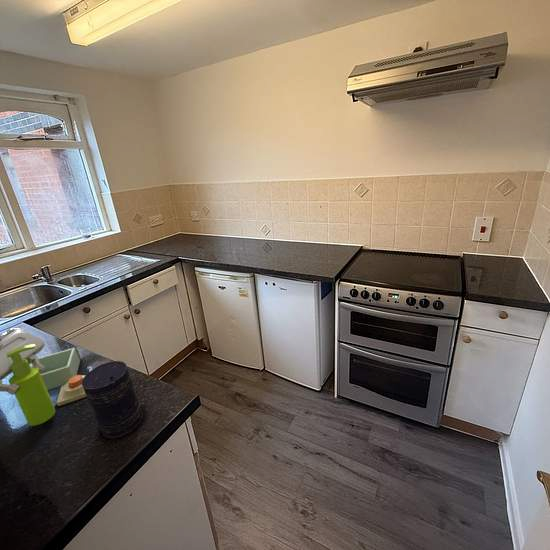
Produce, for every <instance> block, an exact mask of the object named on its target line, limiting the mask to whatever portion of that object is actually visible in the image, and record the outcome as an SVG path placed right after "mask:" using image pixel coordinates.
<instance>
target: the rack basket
mask: <svg viewBox="0 0 550 550" xmlns="http://www.w3.org/2000/svg"><path fill="white" fill-rule="evenodd" d="M37 358H38V360H39V363H40V364H41V365H43V366H44V367H45V368H44V370H43V371H42V372H40V374H41V376H42V379H43V381H44V384H45V386H46V388H47V391H50V390H53V389H56V388H59V387H62V386H63V385H65V384H66V383H67V382H68V380H69V379H70V378H72V377H74V376H76V375H78V370H79V367H80V363H81V359H80V357H79V354H78V351H77V350H76V347H72V348H69V349H65V350H62V351H58V352H54V353H52V354H48V355H44V356H40V357H37ZM29 365H30V367H31V368H34V367H33V365H32V363H31V364H29Z"/></svg>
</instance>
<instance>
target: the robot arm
mask: <svg viewBox="0 0 550 550" xmlns="http://www.w3.org/2000/svg"><path fill="white" fill-rule="evenodd" d="M31 344H34V345H35V348H34V349H30V350H26V351H23V352H21V353H20V355H21V358H22V359H27V360H28V362H29V365H31V363H32V365H33V367H34V368H38V369H39V372H42V371H43V370H44V368H45V367H44V366H43V365H41V364H40V363H39V360H38V358H39V357H38V356H37V355H38V354H39V353H40V352H42V350H43V349H44V347H45V345H46V343H45V340H44V339H42V338H41V337H40V336H38V335H35V334H34V333H31V332H29V331H26V330H25V329H23V328H21V327H19V328H18V327H17V328H9V329H7V330H6V331H5V332H3V333H1V334H0V392H3V393H8V394H10V395H12V396H15V393H16V392H17V391H19V389H20V386H19V385H17V384H15V383H13V384H12V385H10V384H5V383H3V380H4V379H6V378H7V377H8V376H9V375H11V374H13V372H12V370H11V368H10V365H11V364H12V363H13V361H12V358H11V357H8V358H7V355H6V353H7V352H9V351H12V350H14V349H16V348H19V347H22V346H26V345H31Z"/></svg>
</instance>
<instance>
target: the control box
mask: <svg viewBox="0 0 550 550" xmlns="http://www.w3.org/2000/svg"><path fill="white" fill-rule="evenodd" d="M85 375H86V374H85ZM85 375H83V374H82V375H81V376H82V378H84V377H85ZM84 398H87V397H86V395H85V391H84V388H83V386H82V384H81V385H79V386H78V387H75V388H70V386H69V384H68V382H67V383H66V384H65V385H62V386H60V390H59V394H58V397H57V399H56V404H55V405H57V407H60V406H63V405H66V404H70V403H72V402H75V401H78V400H80V399H84Z"/></svg>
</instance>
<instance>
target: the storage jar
mask: <svg viewBox="0 0 550 550" xmlns="http://www.w3.org/2000/svg"><path fill="white" fill-rule="evenodd" d="M133 382H134V381H133V379H132V376H131V373H130V371H129V368H128V365H127V363H125V362H124V361H122V360H121V361H120V360H114V361H110V362H106V363H103V364H100V365H98V366H96V367H94V368H93V369H91V370H90V371H89V372H87V373H86V374H85V377H84V378H83V380H82V386H83V388H84V391H85V395H86V397H85V398H86V399H87V403H89V405H90V406H91V407H92V409H93V411H94V417H95V419H96V423H97V425H98V427H99V429H100V431H101V433H102V435H103V436H104V437H105V438H108V439H115V438H120V437H123V436H125V435H127V434H129V433H130V432H132V431H133V430H134V429H136V428H137V426H139V425H140V423H141V422H142V419H143V417H144V411H143V409H142V406H141V405H142V404H141V402H140V399H139V398H138V395H137V393H136V392H135V389H134V383H133Z"/></svg>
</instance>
